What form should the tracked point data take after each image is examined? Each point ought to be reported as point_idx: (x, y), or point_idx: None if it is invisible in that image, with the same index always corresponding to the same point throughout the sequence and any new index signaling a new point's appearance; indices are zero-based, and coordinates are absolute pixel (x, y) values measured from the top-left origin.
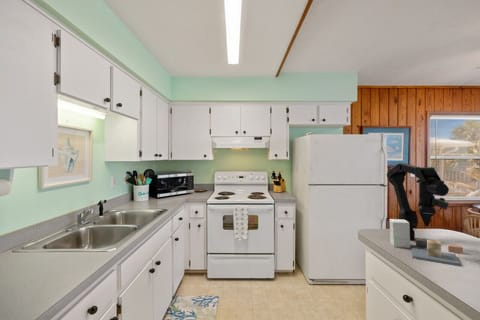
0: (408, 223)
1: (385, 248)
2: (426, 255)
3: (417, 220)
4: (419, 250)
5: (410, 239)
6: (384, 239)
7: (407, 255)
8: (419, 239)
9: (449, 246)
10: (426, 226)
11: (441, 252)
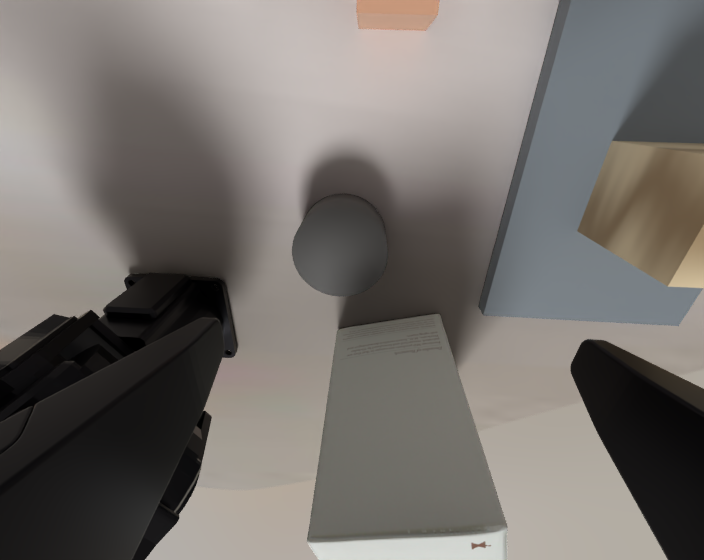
0: (506, 524)
1: (498, 418)
2: None
3: (60, 384)
4: (537, 276)
5: (226, 299)
6: (309, 417)
7: (609, 335)
8: (318, 271)
9: (438, 5)
10: (587, 359)
11: (548, 116)
